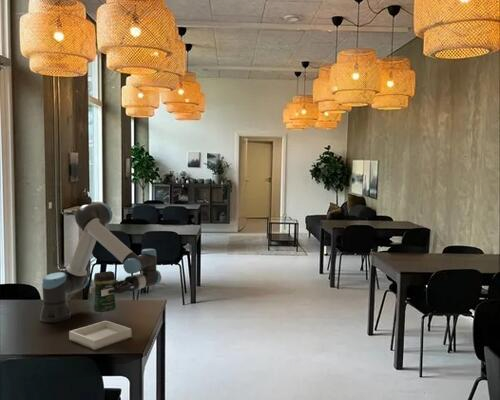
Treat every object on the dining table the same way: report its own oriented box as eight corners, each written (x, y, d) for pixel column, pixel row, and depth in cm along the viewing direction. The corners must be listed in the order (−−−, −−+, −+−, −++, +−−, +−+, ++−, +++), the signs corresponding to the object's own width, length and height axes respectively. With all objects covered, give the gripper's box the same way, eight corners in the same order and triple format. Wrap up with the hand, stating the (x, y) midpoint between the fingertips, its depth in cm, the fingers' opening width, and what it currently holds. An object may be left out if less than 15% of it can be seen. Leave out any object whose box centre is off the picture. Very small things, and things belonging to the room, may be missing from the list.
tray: (69, 339, 217) (69, 331, 217) (106, 328, 233) (105, 320, 233) (94, 349, 205) (94, 340, 205) (131, 337, 221) (131, 328, 221)
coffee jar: (98, 314, 217) (97, 274, 216) (92, 310, 223) (91, 271, 222) (118, 310, 223) (117, 272, 222) (111, 306, 229) (110, 269, 228)
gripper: (148, 292, 231) (110, 303, 212) (121, 286, 243) (83, 296, 225) (148, 277, 230) (109, 287, 212) (121, 272, 243) (82, 280, 224)
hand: (96, 291), depth 218 cm, fingers closed on coffee jar, 8 cm apart
